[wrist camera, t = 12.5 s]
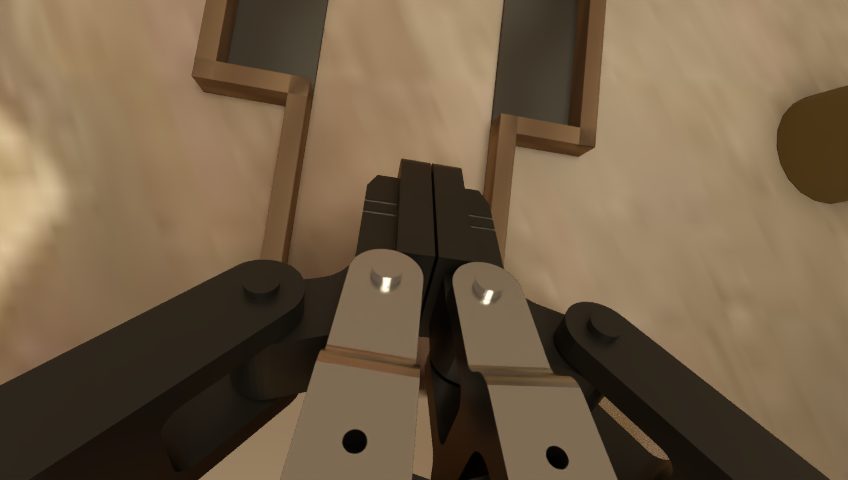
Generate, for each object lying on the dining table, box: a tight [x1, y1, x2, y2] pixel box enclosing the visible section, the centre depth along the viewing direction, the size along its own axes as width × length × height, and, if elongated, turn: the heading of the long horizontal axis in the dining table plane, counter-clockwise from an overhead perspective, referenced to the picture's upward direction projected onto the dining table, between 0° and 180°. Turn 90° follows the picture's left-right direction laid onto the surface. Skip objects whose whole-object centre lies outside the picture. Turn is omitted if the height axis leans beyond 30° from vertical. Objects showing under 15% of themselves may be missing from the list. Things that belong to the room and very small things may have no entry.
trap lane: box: [192, 0, 606, 266], centre depth 20 cm, size 18×33×3 cm, turn 173°
